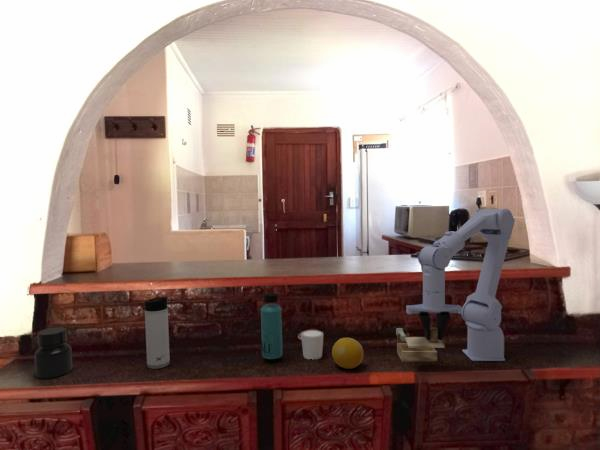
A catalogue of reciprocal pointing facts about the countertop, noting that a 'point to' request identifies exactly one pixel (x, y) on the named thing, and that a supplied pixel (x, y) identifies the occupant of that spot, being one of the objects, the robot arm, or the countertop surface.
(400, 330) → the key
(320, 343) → the white mug
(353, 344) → the fruit
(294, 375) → the countertop surface
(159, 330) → the travel mug
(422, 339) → the lid
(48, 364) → the ink bottle
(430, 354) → the toolbox
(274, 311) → the beverage bottle
